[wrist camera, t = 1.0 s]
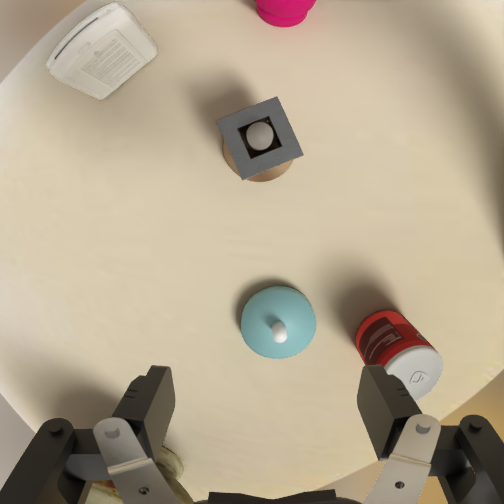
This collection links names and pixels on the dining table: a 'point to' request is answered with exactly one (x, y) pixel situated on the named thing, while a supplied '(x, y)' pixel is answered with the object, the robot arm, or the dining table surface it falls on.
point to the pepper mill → (283, 11)
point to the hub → (278, 322)
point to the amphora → (108, 500)
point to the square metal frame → (280, 128)
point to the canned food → (399, 351)
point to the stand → (258, 150)
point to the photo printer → (102, 52)
